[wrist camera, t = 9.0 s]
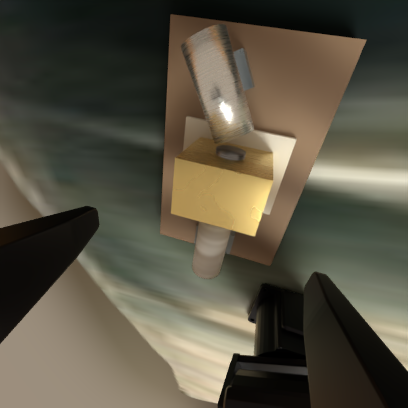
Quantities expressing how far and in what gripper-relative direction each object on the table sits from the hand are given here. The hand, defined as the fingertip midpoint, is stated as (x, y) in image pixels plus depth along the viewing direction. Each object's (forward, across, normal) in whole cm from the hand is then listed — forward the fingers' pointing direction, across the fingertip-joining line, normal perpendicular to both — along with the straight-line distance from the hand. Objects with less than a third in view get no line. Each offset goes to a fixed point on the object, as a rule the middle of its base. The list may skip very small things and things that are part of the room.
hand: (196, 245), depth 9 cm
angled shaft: (+9, +1, -5) cm, 11 cm away
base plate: (+11, 0, 0) cm, 11 cm away
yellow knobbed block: (+9, 0, 0) cm, 9 cm away
